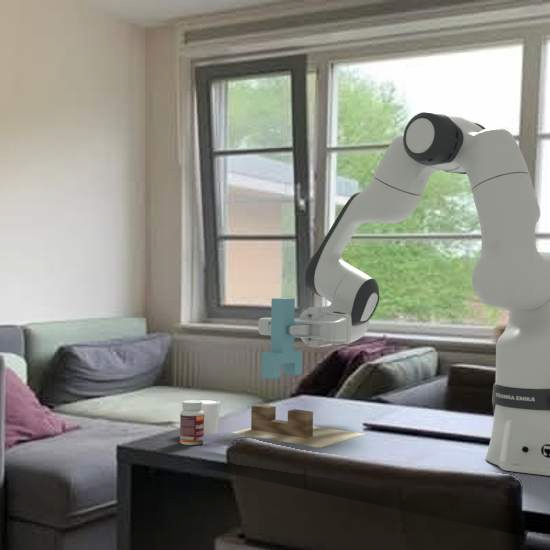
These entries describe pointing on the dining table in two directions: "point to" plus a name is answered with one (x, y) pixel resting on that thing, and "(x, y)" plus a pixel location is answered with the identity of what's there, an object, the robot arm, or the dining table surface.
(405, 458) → the dining table surface
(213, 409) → the white cup
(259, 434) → the jig board
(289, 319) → the angled bracket
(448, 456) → the dining table surface
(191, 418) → the pill bottle
